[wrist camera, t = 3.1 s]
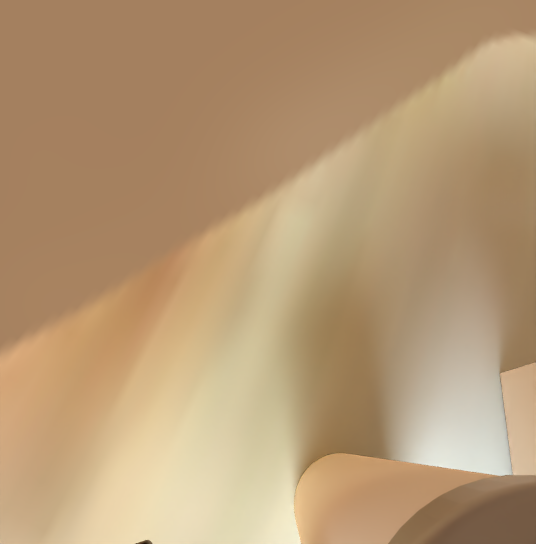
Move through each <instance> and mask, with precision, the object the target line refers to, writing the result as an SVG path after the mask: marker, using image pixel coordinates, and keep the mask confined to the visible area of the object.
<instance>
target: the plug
mask: <svg viewBox="0 0 536 544" xmlns="http://www.w3.org/2000/svg"><path fill="white" fill-rule="evenodd" d="M294 514H295V520H296V524H297V528H298V532H299V536H300V540H301V544H536V476H535V475H504V476H496V475H490V474H483V473H476V472H469V471H462V470H456V469H449V468H442V467H435V466H428V465H422V464H415V463H408V462H401V461H394V460H388V459H381V458H374V457H367V456H361V455H354V454H347V453H335V454H330V455H326V456H324V457H322V458H320V459H318V460H317V461H315V462H314V463H312V464H311V465H310V466H309V467H308V468H307V469H306V471H305V472H304V473H303V475H302V476H301V478H300V480H299V482H298V485H297V488H296V492H295V497H294Z"/></svg>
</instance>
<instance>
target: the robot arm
mask: <svg viewBox="0 0 536 544" xmlns="http://www.w3.org/2000/svg"><path fill="white" fill-rule="evenodd" d="M136 544H152V542H151V541H149V540H145V541H142V542H139V543H136Z"/></svg>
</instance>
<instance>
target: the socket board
mask: <svg viewBox="0 0 536 544" xmlns="http://www.w3.org/2000/svg"><path fill="white" fill-rule="evenodd" d="M500 377H501V385H502V393H503V401H504V409H505V417H506V425H507V432H508V440H509V448H510V456H511V464H512V472H513V475H535V476H536V362H534V363H531V364H528V365H525V366H522V367H519V368H515V369H512V370H509V371H506V372H503V373H500Z"/></svg>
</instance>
